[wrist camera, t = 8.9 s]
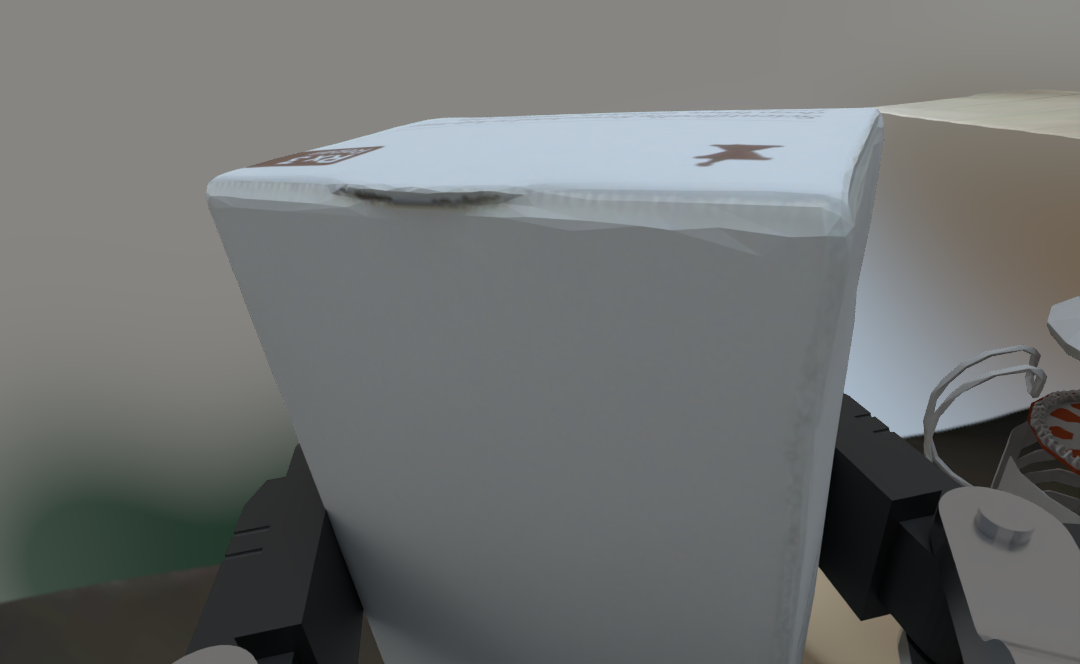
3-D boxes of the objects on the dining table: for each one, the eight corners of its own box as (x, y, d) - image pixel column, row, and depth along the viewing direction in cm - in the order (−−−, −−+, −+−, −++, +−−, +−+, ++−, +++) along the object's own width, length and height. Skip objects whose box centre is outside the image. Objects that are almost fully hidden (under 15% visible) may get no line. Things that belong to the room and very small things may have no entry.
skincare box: (788, 742, 11) (923, 88, 6) (734, 1049, 8) (931, 191, 3) (527, 617, 14) (457, 105, 9) (406, 804, 11) (178, 162, 6)
